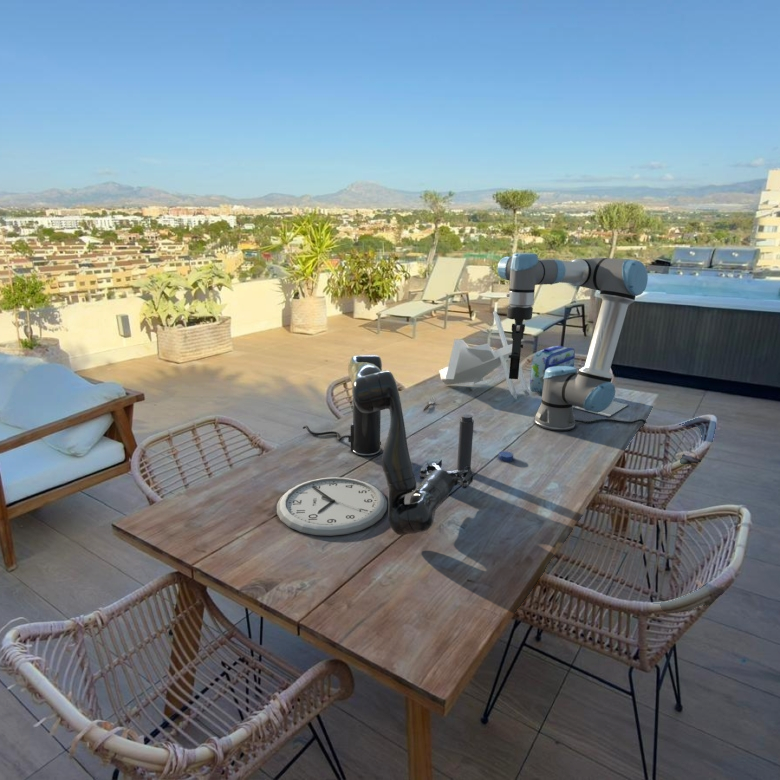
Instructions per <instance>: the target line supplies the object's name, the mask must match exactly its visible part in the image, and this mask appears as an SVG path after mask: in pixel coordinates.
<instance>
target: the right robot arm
mask: <svg viewBox="0 0 780 780" xmlns="http://www.w3.org/2000/svg"><path fill="white" fill-rule="evenodd" d="M497 274H498V276H499V277H500V278H501V279H502V280H506V281H509V288H508V293H506V298H508V300H507V304H508V306H507V308H506V309H507V310H506V318H507V319H508V320H514V323H511V339H512V343H511V344H512V354H511V355H509V358H511V360H509V361H510V362H509V371H510V372H509V379H512V380H519V376H518V374H519V363H520V364H521V353H522V352H521V351H522V349H523V348H524V344H522V340H523V339H524V334H525V333H524V332H525V331H526V324H525V323H524V321H529V320H531V319H532V318H533V310H534V308H533V305H534V303H535V293H536V292H535V291H536V290H535V289H536V286H538V285H539V286H540V285H542V286H543V285H551V286H552V285H555V284H561V283H562V284H563V283H564V284H570V286H573V287H582V288H585V289H589V290H594V291H600V292H599V298H600V299H601V305H600V309H599V311H598V315H597V316H598V317H597V319H596V323H595V327H594V331H593V334H592V337H591V341H590V344H589V347H588V348H589V349H588V351H587V352H588V353H587V356H586V359H585V362H584V366H582V367H580V368H579V369H578V368H577V367H575V366H574V367H570V366H555V367H549V368H547V369H546V370H545V375H544V378H543V379H544V380H543V391H542V393H541V402H540V405H539V407H538V410H537V411H536V413H535V417H534V424H535V425H536V426H537V427H539V428H542V429H544V430H549V431H556V432H567V431H572V430H574V429H575V428H576V423H580V424H593V423H598V422H612V423H613V422H614V423H620V424H635V423H639V422H643V423H645V424H647V423H648V422H647V421H646V420H645V419H643V418H638V419H635V420H628V421H627V420H621V419H614V418H613V419H612V418H599V419H594V420H581V419H576V418H575V417H576V416H575V413H574V407H576V406H577V407H580V408H583V409H585V410H587V411H586V412H588V411H593V412H601V411H603V410H605V409H606V408H607V407H608V406H609V405H610V404H611V402H612V401H614V398H615V396H616V386H615V384H613V383H612V380H613V376H612V374H611V373H610V371H611V367H612V364H613V360H614V356H615V353H616V350H617V346H618V343H619V338H620V335H621V332H622V328H623V325H624V321H625V318H626V314H627V312H628V311H627V310H628V308H629V306H630V305H631V304H633V303H634V302H635V299H636V297H638V296H640V295H642V294H643V293H644V291H645V290H646V288H647V286H648V279H649V277H648V276H649V273H648V271H647V267H646V266H645V264H644V263H643V262H642V261H640V260H637V259H630V258H610V257H593V258H575V259H573V260H562V259H561V260H560V259H555V258H550V259H547V258H539V257H538V254H537V253H532V252H516V253H514V254H512V256H504V257H502V258H501V259H500V260H499V262H498V264H497ZM573 406H574V407H573Z"/></svg>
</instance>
